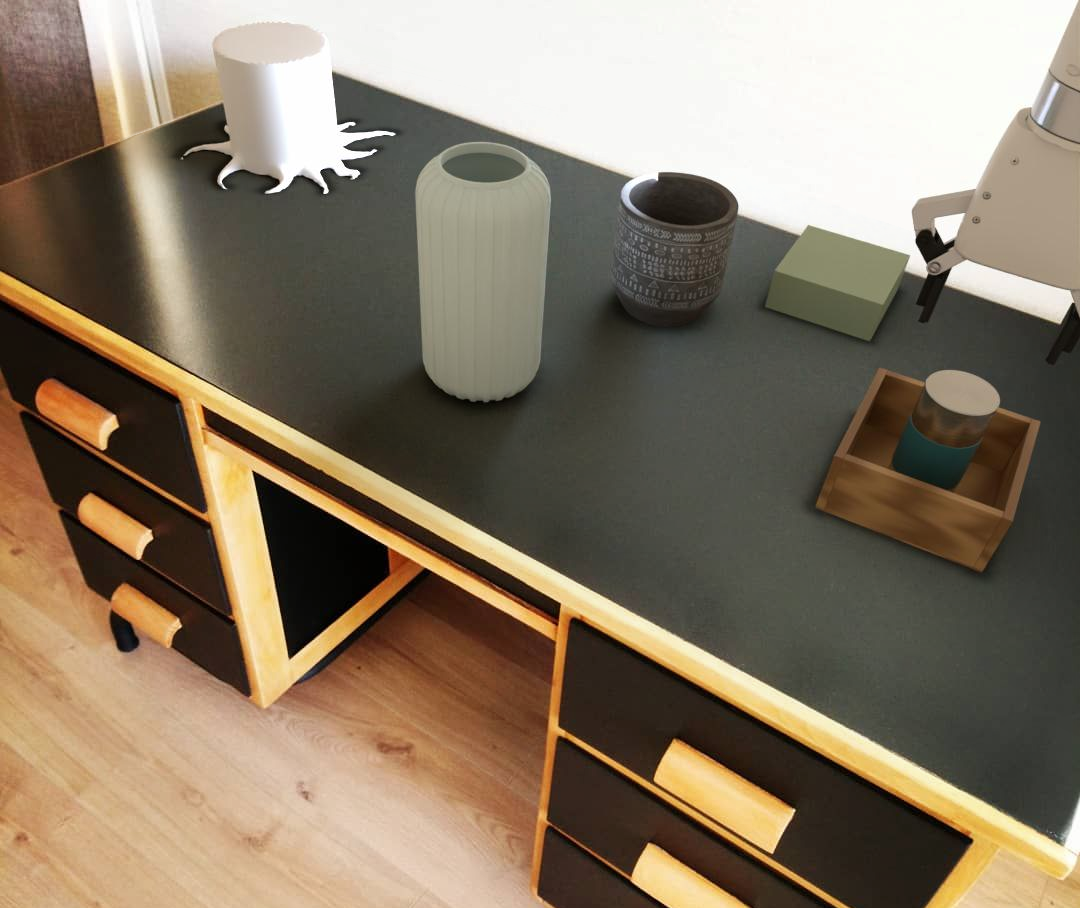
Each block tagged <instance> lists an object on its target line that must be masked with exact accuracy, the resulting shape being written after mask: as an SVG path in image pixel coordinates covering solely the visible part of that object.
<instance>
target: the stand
mask: <svg viewBox="0 0 1080 908" xmlns="http://www.w3.org/2000/svg"><path fill="white" fill-rule="evenodd" d="M910 258H911V255H910V254H907V253H904V252H902V251H898V250H894V249H891V248H887V247H884V246H880V245H877V244H874V243H870V242H867V241H863V240H860V239H857V238H853V237H850V236H847V235H845V234H844V235H843V234H841V233H836V232H833V231H830V230H826V229H823V228H820V227H816V226H813V225H810V224H808V225H807V226H806V227H805V228H804V230H803V231H802V233H801V234H800V236H798V238H797V240H796V241H795V242H794V243H793V245H792V246H791V248H790V249H789V250H788V251H787V252H786V254H785V256H784V257H783V258H782V259H781V261H780V263H779V264H778V265H777V266H776V267H775V269H774V271H773V275H772V277H771V283H770V286H769V289H768V294H767V297H766V301H765V304H764V308H767V309H771V310H773V311H776V312H779V313H782V314H785V315H789V316H791V317H794V318H797V319H800V320H804V321H806V322H809V323H812V324H814V325H815V324H816V325H819V326H822V327H824V328H827V329H831V330H833V331H837V332H840V333H843V334H845V335H850V336H851V337H855V338H858V339H860V340H864V341H867V342H871V340H872V338H873V336H874V335H875V333H876V331H877V328H878V327H879V325H880V323H881V321H882V320H883V318H884V316H885V315H886V312H887V311H888V308H889V307H890V305H891V303H892V301H893V299H894V298H895V296H896V294H897V292H898V290H899V287H900V285H901V282H902V279H903V276H904V273H905V271H906V268H907V265H908V263H909V260H910Z"/></svg>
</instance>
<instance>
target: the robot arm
mask: <svg viewBox="0 0 1080 908" xmlns="http://www.w3.org/2000/svg"><path fill="white" fill-rule="evenodd" d="M960 214H963V217H962V219H961V222H960V224H959V227H958V230H957V231H956V235H955V236H954V237H952V238H950V239H949V240H947V241H945V242H944V241H943V238H942V236H941V235H940V233H939V231H938V229H937V228H936V224H935V223H936V221H935V219H937V218H944V217H949V216H954V215H960ZM911 217H912V224H913V228H914V229H913V230H914V233H915V239H914V240H915V245H916V247H917V249H918V251H919V252H920V255H921V256H922V258H923V260H924V262H925V264H926V266H925V268H926V272H927V275H926V278H925V280H924V283H923V285H922V287H921V290H920V292H919V295H918V297H917V300H916V302H915V305H917V306H920V307H922V311H921V313H920V316H919V318H918V322H919V323H922V324H926V323H929V321H930V319H931V317H932V315H933V313H934V311H935V309H936V307H937V304H938V302H939V299H940V296H941V294H942V293H943V290H944V288H945V285H946V283H947V281H948V278H949V276H950V274H951V271H952V269H953V268H954V267H956V266H957V265H959V264H961V263H963V262H965V261H968V262H970V263H975V264H976V265H980V266H983V267H986V268H989V269H993V270H996V271H999V272H1003V273H1006V274H1008V275H1011V276H1016V277H1019V278H1022V279H1026V280H1029V281H1033V282H1035V283H1039V284H1042V285H1045V286H1049V287H1053V288H1057V289H1060V290H1064V291H1069V292H1070V294H1071V297H1072V298H1071V299H1072V300H1073V301H1072V302H1071V304H1070V305H1069V307H1068V309H1067V311H1066V313H1065V315H1064V316H1063V318H1062V320H1061V322H1060V323H1059V326H1058V328H1057V329H1056V331H1055V332H1054V335H1053V337H1052V338H1051V340H1050V342H1049V345H1048V348H1047V351H1046V355H1045V359H1044V361H1045V362H1046V364H1049V365H1052V366H1055V364H1056V363H1057V361H1058V359H1059V357H1060V356H1061V353H1062V352H1064V353H1067V354H1071V353H1072V352H1073V351H1074V349H1075V347H1076V345H1077V343H1078V342H1079V339H1080V0H1077V2H1076V4H1075V8H1074V9H1073V12H1072V14H1071V16H1070V18H1069V21H1068V24H1067V26H1066V28H1065V30H1064V33H1063V35H1062V37H1061V39H1060V42H1059V44H1058V46H1057V48H1056V51H1055V53H1054V55H1053V58H1052V60H1051V62H1050V65H1049V68H1048V70H1047V72H1046V74H1045V76H1044V79H1043V81H1042V83H1041V86H1040V88H1039V91H1038V93H1037V95H1036V97H1035V99H1034V101H1033V104H1032V106H1031V107H1023V108H1021V109H1019V110H1018V112H1016V114H1015V116H1014V117H1013V118H1012V120H1011V121H1010V123H1009V125H1008V126H1007V127H1006V130H1005V131H1004V133H1003V135H1002V137H1001V138H1000V139H999V142H998V143H997V145H996V147H995V149H994V150H993V152H992V155H991V156H990V158H989V161H988V162H987V165H986V166H985V169H984V171H983V173H982V175H981V177H980V179H979V181H978V183H977V185H976V187H975V188H973V189H967V190H962V191H961V190H960V191H956V192H955V191H954V192H950V193H944V194H939V195H933V196H932V195H931V196H928V197H922V198H919V199H918V200H917V201H916V202H915V204H914V205H913V206H912V209H911Z"/></svg>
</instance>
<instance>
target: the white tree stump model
mask: <svg viewBox="0 0 1080 908" xmlns="http://www.w3.org/2000/svg"><path fill="white" fill-rule="evenodd" d="M211 45H212V51H213V56H214V63H215V67H216V72H217V77H218V83H219V88H220V94H221V98H222V104H223V109H224V114H225V115H224V116H225V121H226V124H225V126H224V129H223V131H225V133H226V134H228V136H229V140H228V141H224V142H218V143H209V144H202V145H198V146H195V147H194V146H193V147H192V148H190V149H188V150H187V151H186V152H185V153H184V154H183V156H184V157H185V156H187V155H188V154H190V153H192V152H198V151H204V150H206V151H207V150H208V151H215V152H220V153H224V154H225V155H229V156H230V157H232V159H231V160H230V161H229V162H228V164H226V165H225V167H223V169H222V170H221V171H220V173H219V174H218V176H217V184H218V185H219V186H220V187H221V188H222V189H224V190H227V188H226V187H225V186H224V184H223V182H222V181H223V179H225V177H227V176H229V175H230V174H232V173H234V172H237V171H240V170H244V171H248V172H249V173H252V174H255V175H261V176H270V177H272V178H274V179H277V180H279V184H278V185H277V186H276V187H273V188H271V189H269V190H266V191H265V192H264V194H273V193H280V192H281V191H282V190H285V189H286V188H287V187H289V186H290V184H291V183H292V181H293V180H294V177H297V176H299V177H300V176H303V177H305V178H307V179H311V180H313V181H314V183H317V184H318V185H319V186H320V187H322V188H323V195H324V194H328V193H329V189H328V184H327V183H326V182H325V181H324V178H323V176H322V175H321V170H323V169H324V170H325V169H332V170H333V171H334V172H335V174H336V175H337V176H339V177H345V176H347V177H348V176H349V177H351V178H350V180H355V178H358V176H359V175H361V173H360V171H358V169H349V168H347V167H345V165H344V163H343V162H342V161H343V160H345V161H346V160H354V159H360V158H364V157H365V158H366V157H368V156H371V155H373V153H375V152H377V151H378V150H377V149H372V150H371V151H353V150H349V149H347V148H345V146H347V145H348V144H351V143H353V142H355V141H359V140H363V139H369V138H373V137H378V136H379V137H380V136H384V135H386V136H391V137H392V136H395V135H396V133H395V132H390V131H383V130H375V131H368V132H341V131H343V130H345V129H346V128H349V126H355V125H356V123H355V122H354V121H352V122H345V123H343V124H338V122H337V112H336V103H335V92H334V85H333V83H334V82H333V74H332V64H331V55H330V45H329V40H328V38H327V36H326V34H324V33H323V32H321V31H319V29H314V28H313V27H310V26H308V25H306V24H305V25H304V24H298V23H297V24H296V23H289V22H281V21H278V22H274V21H272V22H269V21H267V22H264V21H262V22H256V23H250V24H248V23H246V24H244V25H238V26H237V27H232V28H227V29H225V30H222V31H221V32H220V33H219V34H218V35H216V36H215V37H214V38H213V39H212V44H211ZM183 156H182V157H181V158H180V160H184V157H183Z"/></svg>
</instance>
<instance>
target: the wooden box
mask: <svg viewBox="0 0 1080 908" xmlns="http://www.w3.org/2000/svg"><path fill="white" fill-rule="evenodd" d="M924 384H925V382H924V381H921V380H918V379H915V378H913V377H909V376H906V375H904V374H900V373H898V372H895V371H892V370H890V369H886V368H882V367H879V368H878V369H877V371H876V374H875V375H874V377H873V379H872V381H871V383H870V384H869V387H868V389H867V390H866V392H865V395H864V397H863V399H862V401H861V403H860V404H859V407H858V408H857V410H856V412H855V414H854V416H853V418H852V420H851V422H850V423H849V426H848V428H847V429H846V432H845V433H844V436H843V438H842V440H841V442H840V444H839V446H838V448H837V449H836V452H835V453H834V456H833V458H832V461H831V464H830V466H829V469H828V472H827V474H826V476H825V480H824V482H823V485H822V488H821V490H820V493H819V494H818V495H819V496H818V498H817V501H816V503H815V506H814V508H815V509H818V510H820V511H823V512H825V513H828V514H830V515H833V516H836V517H838V518H841V519H842V520H845V521H848V522H851V523H853V524H856V525H859V526H861V527H864V528H865V529H866V528H867V529H869V530H871V531H874V532H875V533H876V532H877V533H879V534H882V535H884V536H887V537H889V538H892V539H894V540H897V541H900V542H902V543H905V544H908V545H910V546H913V547H915V548H918V549H920V550H923V551H926V552H929V553H930V554H933V555H935V556H939V557H940V558H943V559H946V560H948V561H951V562H954V563H957V564H959V565H961V566H964V567H967V568H969V569H972V570H974V571H977V572H980V573H983V571H984V570H985V568H986V567H987V565H988V563H989V561H990V560H991V558H992V557H993V555H994V553H995V551H996V550H997V548H998V546H999V545H1000V544H1001V541H1002V540H1003V538H1004V537H1005V535H1006V534H1007V532H1008V530H1009V529H1010V527H1011V525H1012V524H1013V521H1014V519H1015V515H1016V511H1017V507H1018V504H1019V501H1020V497H1021V493H1022V490H1023V486H1024V484H1025V479H1026V476H1027V472H1028V468H1029V465H1030V461H1031V458H1032V454H1033V450H1034V447H1035V444H1036V440H1037V437H1038V433H1039V429H1040V426H1041V421H1040V420H1037V419H1034V418H1032V417H1029V416H1026V415H1022V414H1019V413H1016V412H1013V411H1010V410H1007V409H1005V408H1001V407H1000V406H999V407H998V409H997V411H996V413H995V415H994V417H993V419H992V421H991V422H990V424H989V426H988V428H987V430H986V432H985V434H984V436H983V439H982V441H981V443H980V445H979V447H978V449H977V451H976V453H975V454H974V456H973V458H972V460H971V462H970V464H969V466H968V468H967V470H966V472H965V474H964V476H963V477H962V479H961V481H960V483H959V484H958V486H957V488H956V490H955V492H954V493H952V492H949V491H947V490H944V489H941V488H938V487H936V486H933V485H930V484H928V483H925V482H922V481H919V480H917V479H914V478H911V477H909V476H906V475H903V474H900V473H898V472H895V471H892V470H889V469H888V466H889V464H890V462H891V460H892V456H893V454H894V451H895V449H896V447H897V444H898V442H899V440H900V438H901V435H902V433H903V431H904V428H905V426H906V424H907V421H908V419H909V417H910V415H911V412H912V411H913V409H914V407H915V405H916V402H917V400H918V398H919V396H920V393H921V391H922V389H923V386H924Z"/></svg>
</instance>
